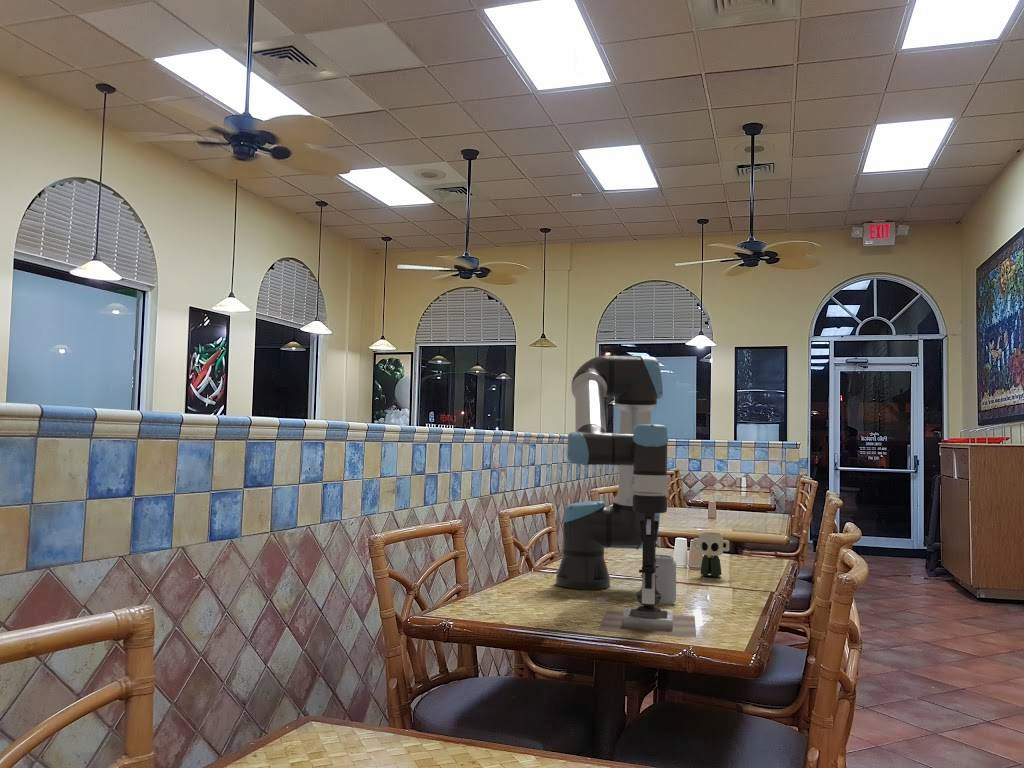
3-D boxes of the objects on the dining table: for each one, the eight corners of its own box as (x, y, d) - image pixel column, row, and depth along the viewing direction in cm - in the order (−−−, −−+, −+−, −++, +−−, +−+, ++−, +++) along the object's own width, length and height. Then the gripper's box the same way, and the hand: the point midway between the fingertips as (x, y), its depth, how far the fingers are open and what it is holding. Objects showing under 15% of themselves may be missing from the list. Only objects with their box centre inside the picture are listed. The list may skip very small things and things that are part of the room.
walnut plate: (606, 615, 186) (606, 610, 186) (694, 621, 182) (694, 616, 182) (598, 636, 167) (598, 630, 167) (696, 643, 163) (696, 637, 163)
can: (679, 606, 198) (679, 558, 199) (649, 606, 198) (649, 557, 198) (671, 600, 205) (672, 553, 206) (642, 600, 205) (643, 553, 206)
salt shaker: (634, 606, 178) (635, 552, 179) (661, 607, 177) (661, 553, 178) (635, 612, 172) (636, 556, 173) (663, 613, 171) (663, 557, 172)
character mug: (690, 576, 242) (691, 533, 243) (694, 573, 249) (695, 531, 250) (727, 579, 238) (727, 535, 239) (730, 576, 245) (730, 533, 246)
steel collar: (626, 616, 181) (626, 607, 181) (673, 619, 179) (673, 610, 179) (622, 626, 171) (623, 617, 171) (672, 630, 168) (672, 620, 169)
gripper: (635, 491, 186) (633, 591, 185) (630, 496, 168) (628, 608, 166) (667, 492, 185) (666, 593, 183) (666, 497, 167) (665, 610, 165)
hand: (648, 600), depth 175 cm, fingers closed on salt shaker, 6 cm apart
